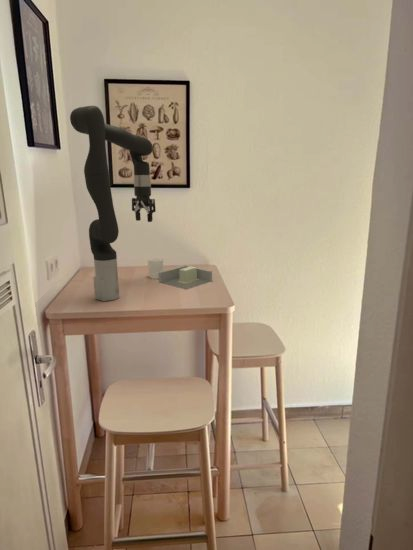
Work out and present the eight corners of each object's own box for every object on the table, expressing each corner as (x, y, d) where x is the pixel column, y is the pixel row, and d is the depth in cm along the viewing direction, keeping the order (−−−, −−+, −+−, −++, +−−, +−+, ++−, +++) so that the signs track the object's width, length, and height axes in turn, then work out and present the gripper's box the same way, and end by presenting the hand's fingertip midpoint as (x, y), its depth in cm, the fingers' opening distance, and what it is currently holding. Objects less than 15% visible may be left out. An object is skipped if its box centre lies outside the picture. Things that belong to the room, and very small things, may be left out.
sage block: (197, 279, 185) (196, 267, 184) (185, 282, 180) (185, 270, 178) (191, 278, 188) (190, 266, 186) (179, 281, 182) (179, 269, 181)
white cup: (145, 279, 189) (144, 260, 187) (152, 275, 196) (151, 257, 194) (159, 281, 187) (159, 261, 184) (166, 277, 194) (165, 257, 191)
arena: (186, 291, 170) (185, 278, 168) (159, 284, 181) (158, 272, 180) (212, 282, 183) (212, 271, 181) (185, 276, 194) (185, 265, 193)
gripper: (159, 185, 171) (160, 221, 175) (139, 185, 180) (140, 219, 184) (146, 185, 165) (147, 223, 169) (126, 185, 175) (128, 220, 179)
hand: (144, 221), depth 177 cm, fingers open, 8 cm apart
